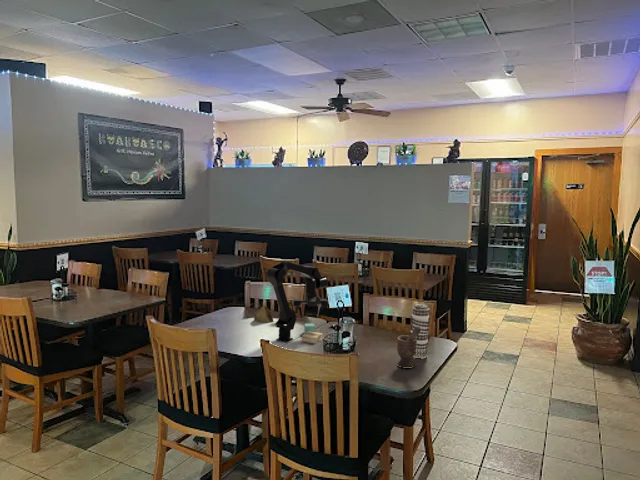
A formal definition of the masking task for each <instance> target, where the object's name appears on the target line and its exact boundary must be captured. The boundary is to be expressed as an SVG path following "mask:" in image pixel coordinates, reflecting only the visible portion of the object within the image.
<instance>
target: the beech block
mask: <svg viewBox="0 0 640 480" xmlns="http://www.w3.org/2000/svg"><path fill="white" fill-rule="evenodd" d="M322 339H324V333H321V332H316V331H315V332H311V331H309V332H307V333H303V334H301V342H305V343H310V344H314V343H316V344H317V342H318V343H320V342H321V341H323V340H322Z"/></svg>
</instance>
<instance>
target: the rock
mask: <svg viewBox="0 0 640 480" xmlns="http://www.w3.org/2000/svg"><path fill="white" fill-rule="evenodd" d="M253 318H254V319H253V320H254V321H256V322H261V321H263V322H262V323H273V322H274V317H273V315H272V314H271V311H270V309H269V308H268V306H267V305H263V306H261V307H260V309H259V310H258V311H257V312H256V313H255V316H254V317H253Z"/></svg>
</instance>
